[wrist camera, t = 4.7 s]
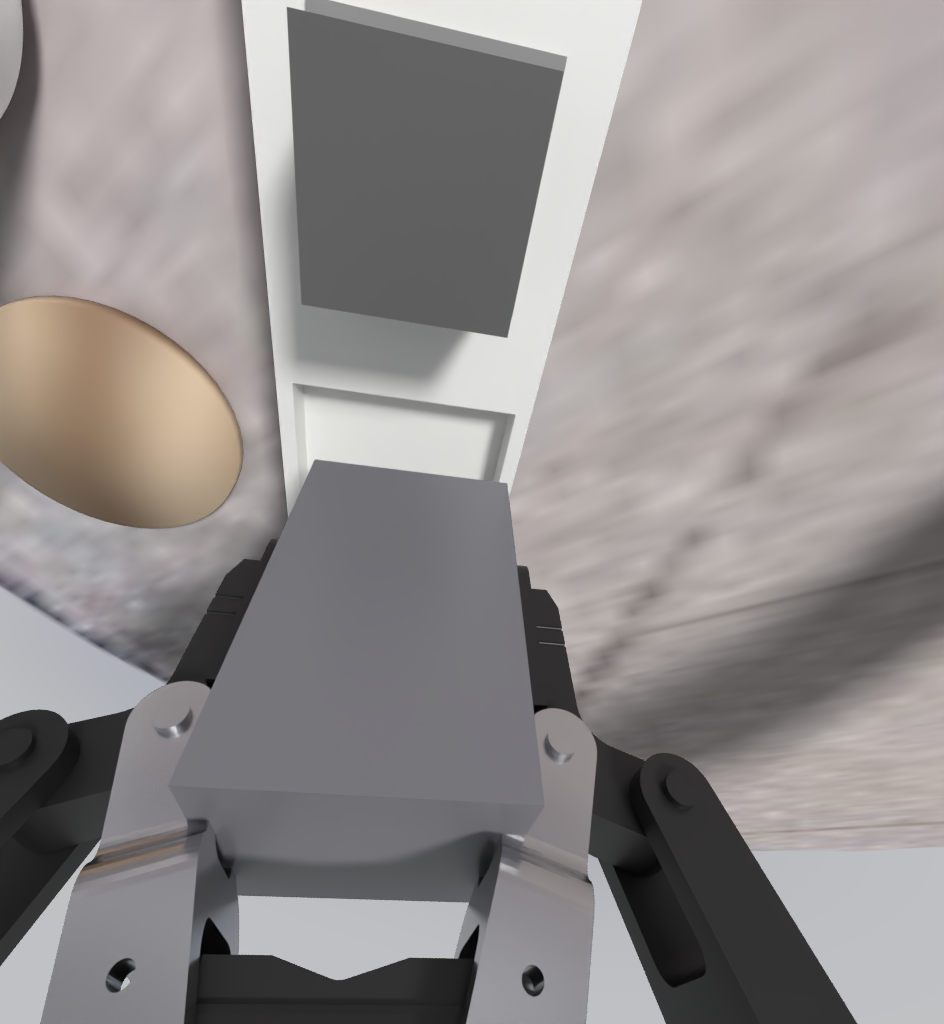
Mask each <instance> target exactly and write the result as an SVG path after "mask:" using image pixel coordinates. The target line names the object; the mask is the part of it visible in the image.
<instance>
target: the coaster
mask: <svg viewBox="0 0 944 1024" xmlns="http://www.w3.org/2000/svg"><path fill="white" fill-rule="evenodd" d="M0 461H1V462H2V463H3V464H4V465H6V466H7V467H8V468H9V469H10V470H11V471H12V472H13V473H15V474H16V475H17V476H18V477H20V478H21V479H22V480H24V481H25V482H26V483H27V484H29V485H30V486H32V487H33V488H35V489H36V490H38V491H39V492H41V493H42V494H44V495H46V496H48V497H49V498H51V499H53V500H55V501H56V502H58V503H60V504H62V505H64V506H66V507H69V508H71V509H73V510H75V511H77V512H80V513H83V514H85V515H88V516H90V517H93V518H96V519H100V520H103V521H106V522H110V523H114V524H119V525H123V526H130V527H137V528H170V527H177V526H182V525H185V524H189V523H193V522H195V521H197V520H200V519H202V518H204V517H206V516H207V515H209V514H210V513H212V512H213V511H215V510H216V509H217V508H218V507H219V506H220V505H221V504H222V503H223V502H224V500H225V499H226V498H227V497H228V495H229V493H230V492H231V490H232V489H233V487H234V485H235V483H236V481H237V479H238V477H239V475H240V471H241V468H242V462H243V441H242V436H241V432H240V427H239V424H238V422H237V419H236V416H235V414H234V411H233V410H232V408H231V406H230V404H229V402H228V400H227V398H226V396H225V395H224V394H223V392H222V391H221V389H220V388H219V386H218V385H217V383H216V382H215V381H214V379H213V378H212V377H211V376H210V375H209V374H208V372H207V371H206V370H205V369H204V368H203V367H202V366H201V365H200V364H199V363H198V362H197V361H196V360H195V359H194V358H193V357H192V356H191V355H190V354H189V353H188V352H187V351H185V350H184V349H183V348H182V347H181V346H179V345H178V344H177V343H176V342H174V341H173V340H172V339H170V338H169V337H167V336H166V335H164V334H163V333H161V332H160V331H158V330H157V329H155V328H154V327H152V326H150V325H148V324H146V323H145V322H143V321H141V320H139V319H137V318H136V317H133V316H131V315H129V314H126V313H124V312H122V311H120V310H117V309H115V308H112V307H109V306H106V305H103V304H100V303H96V302H93V301H88V300H83V299H79V298H73V297H63V296H35V297H30V298H25V299H20V300H16V301H14V302H11V303H9V304H6V305H3V306H1V307H0Z"/></svg>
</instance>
